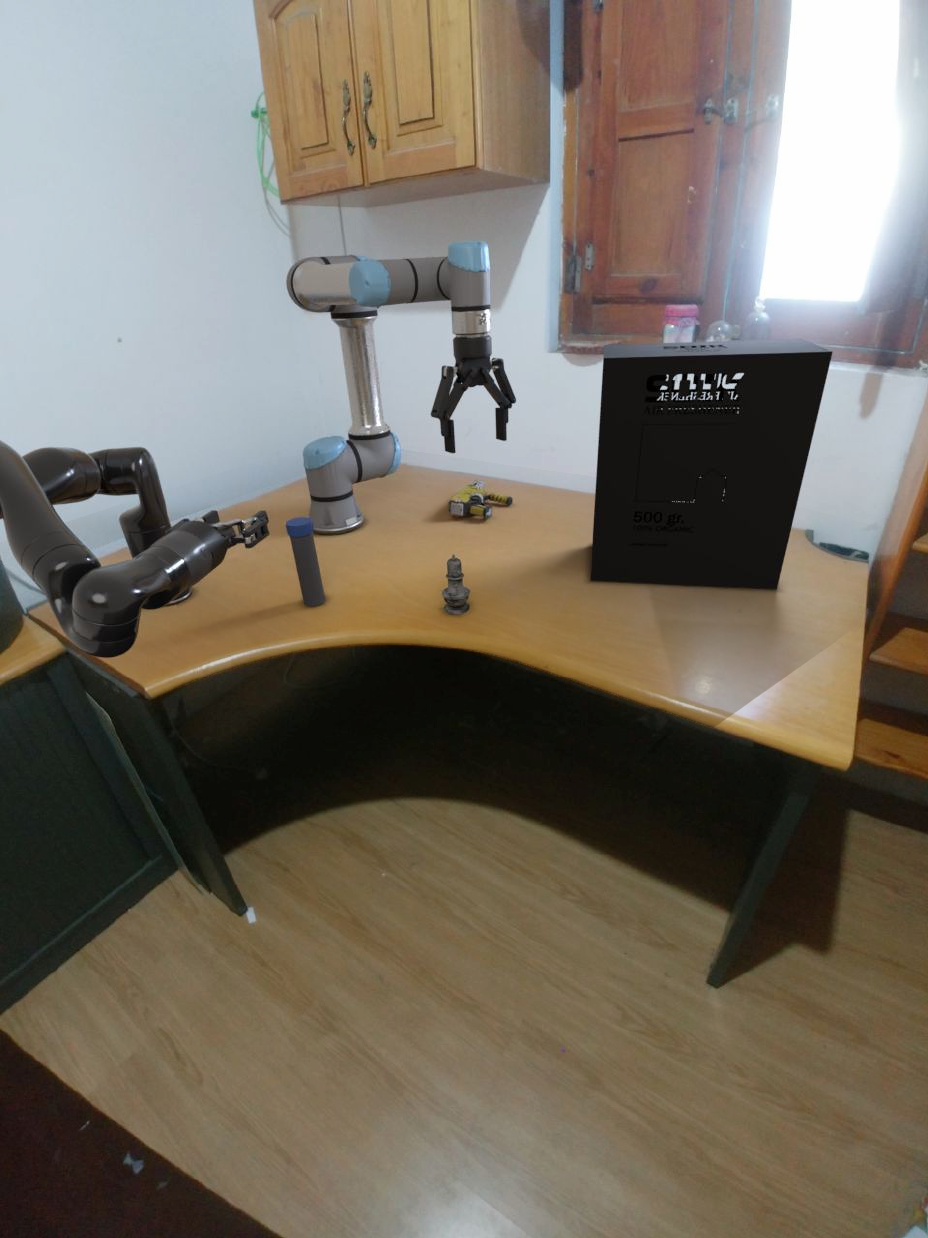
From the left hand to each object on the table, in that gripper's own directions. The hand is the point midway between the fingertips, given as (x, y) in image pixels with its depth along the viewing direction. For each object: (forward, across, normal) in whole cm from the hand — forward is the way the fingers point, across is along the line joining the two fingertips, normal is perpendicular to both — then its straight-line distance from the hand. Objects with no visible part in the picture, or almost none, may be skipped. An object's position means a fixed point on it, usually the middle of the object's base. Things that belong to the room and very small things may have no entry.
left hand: (240, 515), depth 98 cm
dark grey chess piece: (+20, +30, -28) cm, 46 cm away
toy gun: (+81, +28, -27) cm, 90 cm away
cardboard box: (+44, +77, -28) cm, 93 cm away
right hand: (+41, +33, +1) cm, 52 cm away
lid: (+21, -1, -9) cm, 23 cm away
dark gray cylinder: (+21, -1, -27) cm, 34 cm away
